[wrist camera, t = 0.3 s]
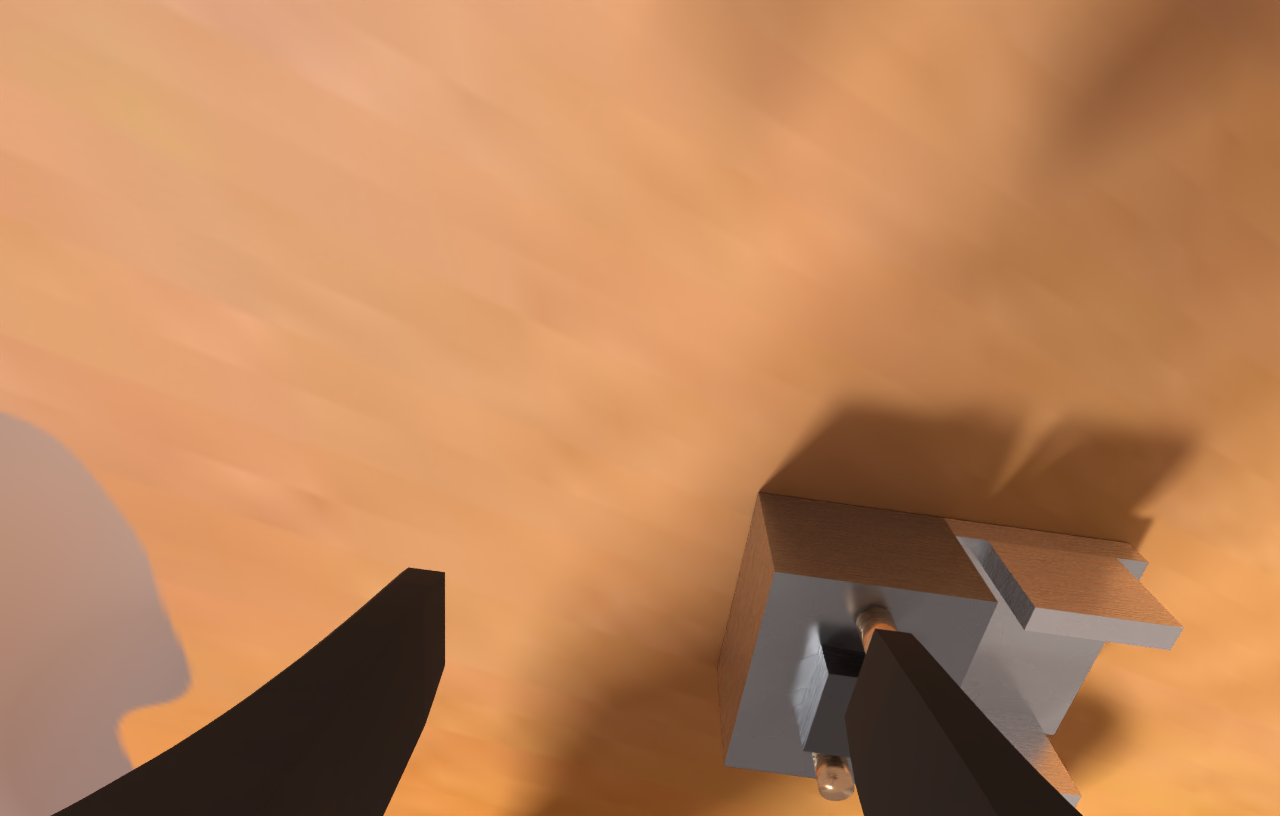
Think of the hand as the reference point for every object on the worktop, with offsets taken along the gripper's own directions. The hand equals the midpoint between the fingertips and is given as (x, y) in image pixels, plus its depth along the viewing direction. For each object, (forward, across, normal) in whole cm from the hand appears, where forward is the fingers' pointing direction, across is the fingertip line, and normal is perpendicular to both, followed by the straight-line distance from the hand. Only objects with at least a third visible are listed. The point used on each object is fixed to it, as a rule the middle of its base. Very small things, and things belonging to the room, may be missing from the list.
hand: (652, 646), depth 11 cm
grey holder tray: (+10, -9, +6) cm, 15 cm away
